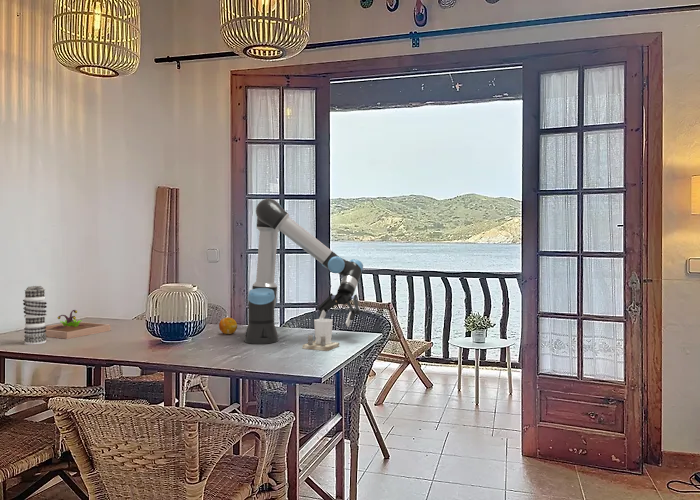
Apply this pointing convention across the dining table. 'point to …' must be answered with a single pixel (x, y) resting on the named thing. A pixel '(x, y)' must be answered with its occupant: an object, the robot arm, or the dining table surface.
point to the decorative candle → (35, 315)
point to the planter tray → (66, 335)
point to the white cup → (323, 330)
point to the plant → (70, 324)
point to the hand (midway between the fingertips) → (333, 324)
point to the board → (322, 346)
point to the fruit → (228, 325)
